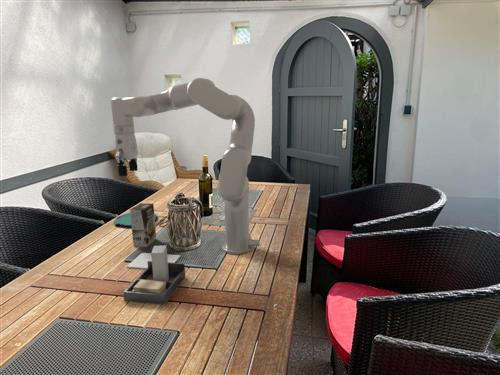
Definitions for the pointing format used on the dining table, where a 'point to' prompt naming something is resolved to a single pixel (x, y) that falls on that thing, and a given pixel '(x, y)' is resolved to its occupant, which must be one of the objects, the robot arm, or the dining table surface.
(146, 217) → the coffee box
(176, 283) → the tray
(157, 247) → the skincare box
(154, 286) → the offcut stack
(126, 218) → the green flat slab
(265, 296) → the dining table surface
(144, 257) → the board
